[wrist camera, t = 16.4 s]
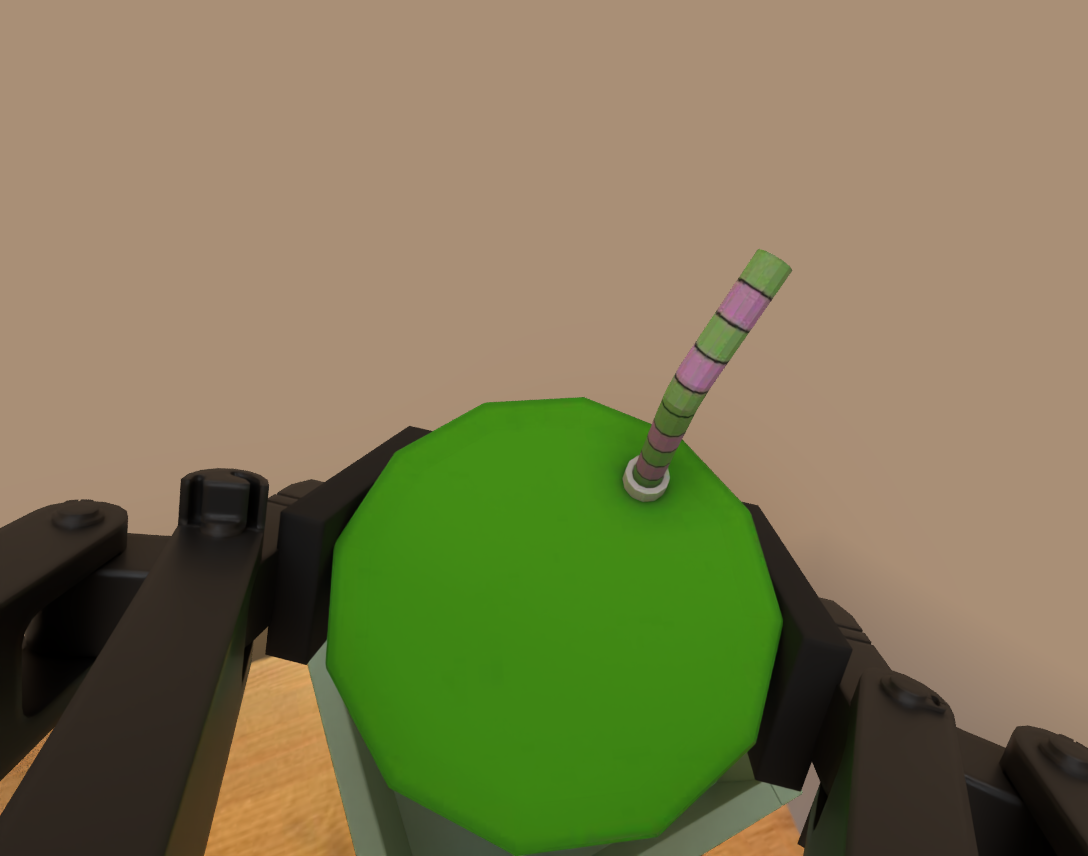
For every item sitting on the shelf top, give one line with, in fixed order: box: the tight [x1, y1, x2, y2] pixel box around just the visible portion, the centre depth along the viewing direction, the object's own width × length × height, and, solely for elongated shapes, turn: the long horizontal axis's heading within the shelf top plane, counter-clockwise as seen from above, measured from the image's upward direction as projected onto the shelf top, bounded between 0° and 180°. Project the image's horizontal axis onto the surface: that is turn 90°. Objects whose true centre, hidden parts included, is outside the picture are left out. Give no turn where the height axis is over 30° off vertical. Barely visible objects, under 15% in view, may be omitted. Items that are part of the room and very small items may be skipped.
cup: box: [325, 249, 792, 856], centre depth 13 cm, size 8×8×15 cm
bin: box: [308, 640, 803, 856], centre depth 22 cm, size 13×13×6 cm
